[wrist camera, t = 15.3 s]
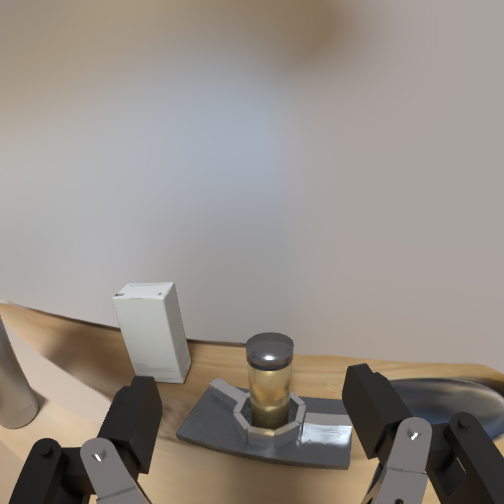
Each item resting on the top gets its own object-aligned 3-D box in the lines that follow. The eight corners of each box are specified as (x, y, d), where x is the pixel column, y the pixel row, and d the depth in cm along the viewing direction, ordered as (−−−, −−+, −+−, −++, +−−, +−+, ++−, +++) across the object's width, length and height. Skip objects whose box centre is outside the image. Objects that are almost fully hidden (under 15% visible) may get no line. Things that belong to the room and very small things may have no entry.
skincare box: (191, 363, 43) (179, 280, 40) (183, 386, 37) (166, 296, 34) (146, 360, 43) (128, 280, 40) (133, 380, 38) (110, 295, 34)
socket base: (177, 438, 27) (171, 421, 26) (212, 387, 37) (209, 369, 36) (347, 469, 21) (354, 453, 20) (351, 405, 32) (356, 386, 31)
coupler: (245, 432, 27) (239, 354, 25) (256, 407, 32) (253, 330, 29) (284, 439, 26) (289, 360, 23) (292, 412, 30) (296, 334, 28)
